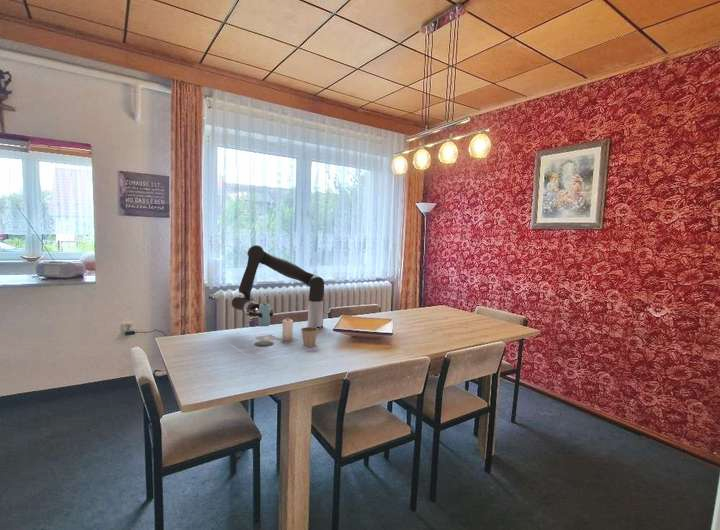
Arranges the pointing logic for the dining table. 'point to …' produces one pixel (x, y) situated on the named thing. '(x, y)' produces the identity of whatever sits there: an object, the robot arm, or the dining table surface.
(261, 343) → the mat
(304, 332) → the flower pot
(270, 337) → the tile
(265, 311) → the jar teal
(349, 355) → the dining table surface
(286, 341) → the tile
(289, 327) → the peach pillar candle
